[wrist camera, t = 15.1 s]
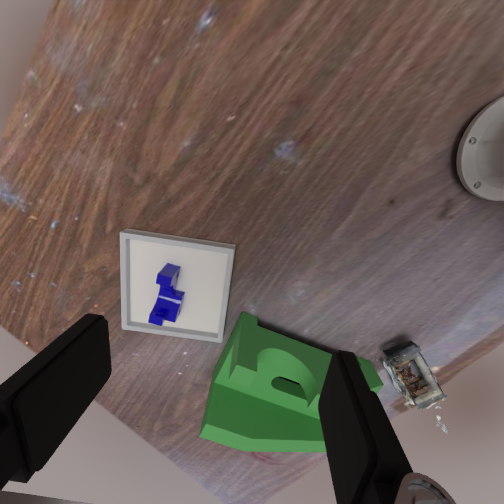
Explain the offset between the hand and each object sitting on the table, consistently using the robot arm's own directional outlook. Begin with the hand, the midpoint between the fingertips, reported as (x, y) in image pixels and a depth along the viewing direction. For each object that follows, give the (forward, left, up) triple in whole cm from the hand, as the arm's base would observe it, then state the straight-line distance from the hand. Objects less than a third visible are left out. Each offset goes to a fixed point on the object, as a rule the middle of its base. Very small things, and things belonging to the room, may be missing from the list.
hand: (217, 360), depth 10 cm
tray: (+9, +12, -27) cm, 31 cm away
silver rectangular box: (-30, +20, -28) cm, 46 cm away
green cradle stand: (-11, +24, -28) cm, 39 cm away
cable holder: (+10, +12, -26) cm, 31 cm away
